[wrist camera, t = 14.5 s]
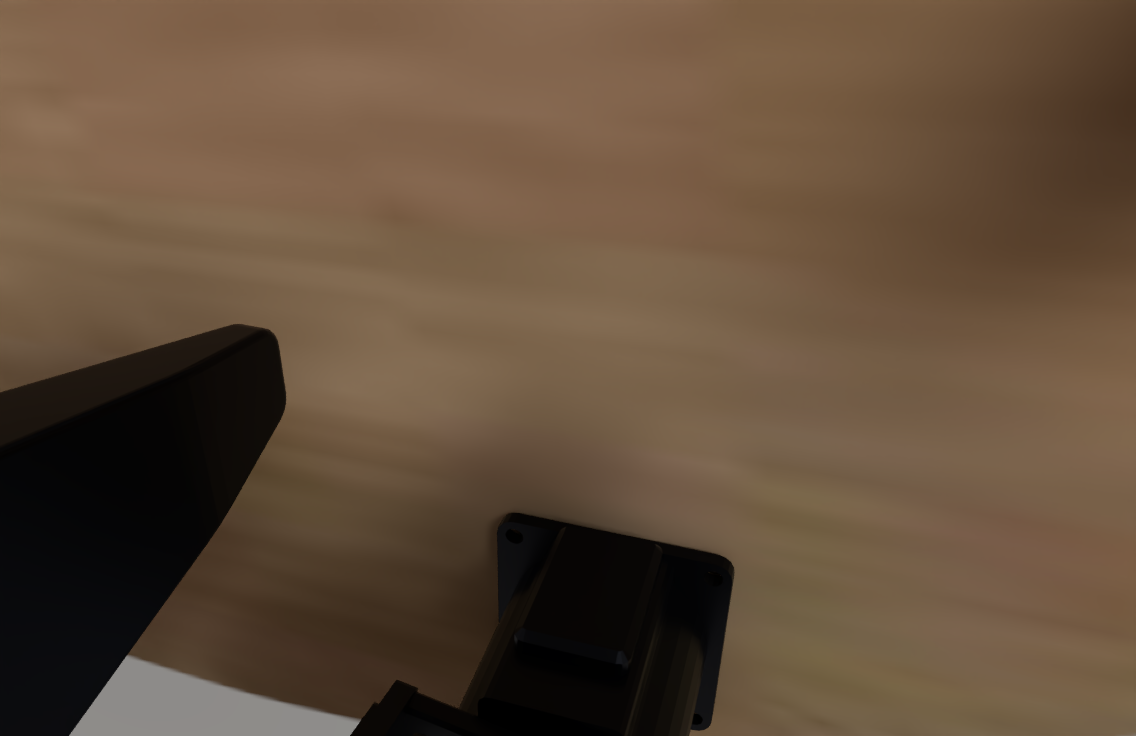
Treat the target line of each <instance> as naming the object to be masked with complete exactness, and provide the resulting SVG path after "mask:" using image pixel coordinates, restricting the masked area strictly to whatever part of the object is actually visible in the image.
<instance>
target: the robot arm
mask: <svg viewBox="0 0 1136 736" xmlns="http://www.w3.org/2000/svg"><path fill="white" fill-rule="evenodd" d="M285 405H286V390H285V383H284V377H283V370H282V363H281V357H280V350H279V345H278V340H277V338H276V336H275V335H274V333H272V332H271V331H270V330H268V329H265V328H260V327H254V326H248V325H243V324H234V325H229V326H226V327H223V328H219V329H216V330H212V331H209V332H205V333H202V334H199V335H195V336H192V337H188V338H185V339H181V340H178V341H175V342H171V343H168V344H164V345H161V346H158V347H154V348H151V349H147V350H144V351H140V352H137V353H134V354H130V355H127V356H123V357H120V358H116V359H113V360H110V361H106V362H103V363H99V364H96V365H92V366H89V367H86V368H82V369H79V370H75V371H72V372H68V373H65V374H62V375H58V376H55V377H51V378H48V379H45V380H41V381H38V382H34V383H31V384H27V385H24V386H21V387H17V388H14V389H10V390H7V391H3V392H0V736H69V735H70V734H71V732H72V731H73V729H74V728H75V727H76V725H77V724H78V722H79V721H80V720H81V718H82V717H83V715H84V714H85V713H86V711H87V710H88V709H89V707H90V706H91V704H92V703H93V702H94V700H95V699H96V698H97V696H98V695H99V693H100V692H101V691H102V689H103V688H104V686H105V685H106V684H107V682H108V681H109V679H110V678H111V677H112V675H113V674H114V672H115V671H116V670H117V668H118V667H119V665H120V664H121V663H122V661H123V660H124V659H125V657H126V656H127V655H128V653H129V652H130V650H131V649H132V648H133V646H134V645H135V643H136V642H137V641H138V639H139V638H140V636H141V635H142V634H143V632H144V631H145V630H146V628H147V627H148V625H149V624H150V623H151V621H152V620H153V618H154V617H155V616H156V614H157V613H158V612H159V610H160V609H161V607H162V606H163V605H164V603H165V602H166V600H167V599H168V598H169V596H170V595H171V593H172V592H173V591H174V589H175V588H176V587H177V585H178V584H179V582H180V581H181V580H182V578H183V577H184V575H185V574H186V573H187V571H188V570H189V569H190V567H191V566H192V564H193V563H194V562H195V560H196V559H197V557H198V556H199V555H200V553H201V552H202V551H203V549H204V548H205V546H206V545H207V544H208V542H209V541H210V539H211V538H212V536H213V535H214V533H215V532H216V530H217V529H218V527H219V526H220V524H221V523H222V521H223V519H224V518H225V516H226V514H227V513H228V511H229V510H230V508H231V506H232V504H233V503H234V501H235V499H236V497H237V496H238V494H239V492H240V490H241V489H242V487H243V485H244V483H245V482H246V480H247V478H248V476H249V475H250V473H251V471H252V469H253V467H254V466H255V464H256V462H257V460H258V459H259V457H260V455H261V453H262V452H263V450H264V448H265V446H266V445H267V443H268V441H269V439H270V437H271V436H272V434H273V432H274V430H275V429H276V427H277V425H278V423H279V422H280V420H281V418H282V416H283V413H284V410H285ZM512 529H515V530H518V531H519V532H520V533H521V534H517V533H515V532H514V531H513V530H512ZM497 547H498V600H499V624H498V626H497V628H496V630H495V632H494V635H493V637H492V639H491V641H490V643H489V645H488V647H487V649H486V651H485V654H484V656H483V658H482V660H481V662H480V664H479V666H478V668H477V671H476V673H475V675H474V677H473V679H472V681H471V683H470V685H469V687H468V690H467V692H466V694H465V696H464V698H463V700H462V702H461V704H460V707H459V709H458V708H456V707H453V706H451V705H448V704H446V703H443V702H441V701H438V700H436V699H433V698H431V697H428V696H426V695H423V694H421V693H418V692H417V691H418V688H416V687H414V686H411V685H409V684H406V683H404V682H401V681H399V680H396V681H395V683H394V684H393V685H392V687H391V688H390V690H389V691H388V692H387V694H386V695H385V696H384V698H383V699H382V701H381V702H380V703H379V704H378V703H374V704H373V705H372V706H371V708H370V709H369V710H368V712H367V713H366V715H365V716H364V717H363V718H362V719H361V721H360V723H359V724H358V726H357V727H356V728H355V730H354V731H353V732H352V734H351V735H350V736H689V734H690V729H691V730H698V731H700V730H705V729H707V728H708V727H709V726H710V724H711V721H712V716H713V710H714V704H715V697H716V691H717V684H718V677H719V671H720V664H721V658H722V651H723V645H724V638H725V632H726V625H727V619H728V612H729V605H730V599H731V592H732V586H733V579H734V567H733V565H732V563H731V562H730V561H729V560H728V559H726V558H725V557H723V556H720V555H717V554H712V553H707V552H703V551H698V550H693V549H688V548H683V547H679V546H674V545H669V544H664V543H659V542H655V541H650V540H645V539H640V538H635V537H631V536H626V535H621V534H616V533H611V532H606V531H602V530H597V529H592V528H587V527H582V526H578V525H573V524H568V523H563V522H558V521H554V520H549V519H544V518H539V517H534V516H530V515H525V514H520V513H511V514H508V515H506V516H505V517H504V518H503V520H502V522H501V524H500V526H499V528H498V532H497ZM708 572H716V573H719V574H720V575H721V576H713V575H711V574H709V573H708ZM695 713H697V714H695Z"/></svg>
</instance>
